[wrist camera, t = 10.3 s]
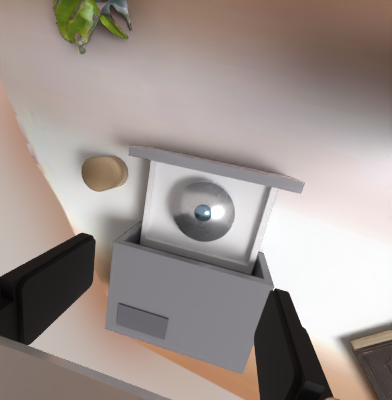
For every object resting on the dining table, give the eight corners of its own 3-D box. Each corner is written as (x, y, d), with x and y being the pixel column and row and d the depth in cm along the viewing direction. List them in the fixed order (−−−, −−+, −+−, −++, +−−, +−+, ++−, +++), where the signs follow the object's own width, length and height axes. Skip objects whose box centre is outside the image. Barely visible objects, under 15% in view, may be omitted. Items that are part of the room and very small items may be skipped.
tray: (148, 146, 24) (129, 145, 20) (290, 176, 22) (304, 183, 18) (136, 235, 28) (118, 252, 23) (259, 269, 26) (265, 293, 21)
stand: (101, 153, 26) (82, 153, 23) (129, 159, 26) (114, 161, 22) (99, 182, 27) (80, 187, 24) (126, 189, 27) (111, 194, 23)
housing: (140, 221, 28) (112, 242, 21) (263, 253, 26) (274, 288, 19) (130, 292, 31) (104, 330, 24) (239, 325, 29) (242, 376, 22)
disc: (182, 173, 23) (178, 175, 22) (241, 187, 22) (242, 190, 21) (172, 228, 25) (168, 233, 24) (226, 242, 24) (226, 248, 23)
